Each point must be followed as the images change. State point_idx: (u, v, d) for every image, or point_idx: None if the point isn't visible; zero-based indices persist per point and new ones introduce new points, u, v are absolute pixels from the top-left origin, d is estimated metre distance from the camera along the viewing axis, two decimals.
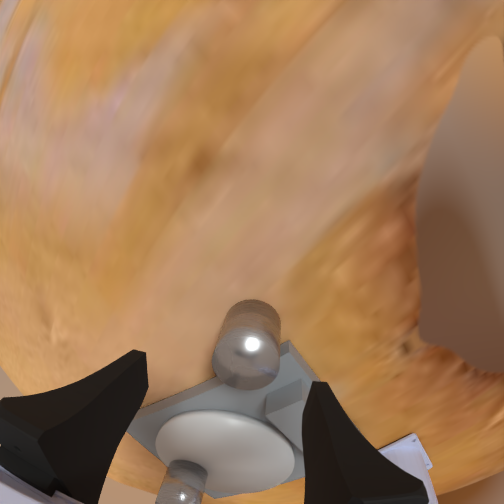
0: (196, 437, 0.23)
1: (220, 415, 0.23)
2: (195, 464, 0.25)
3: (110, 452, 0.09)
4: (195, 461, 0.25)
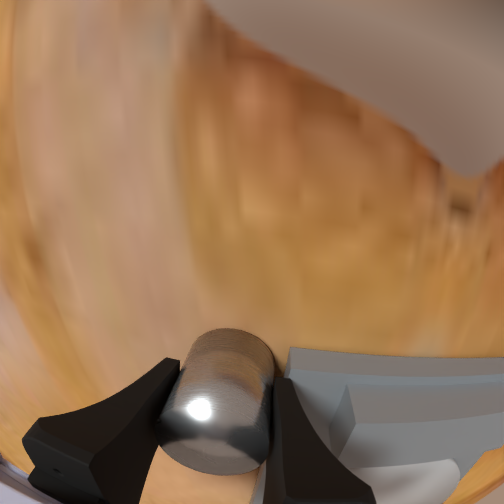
0: None
1: None
2: None
3: (147, 464, 0.09)
4: None
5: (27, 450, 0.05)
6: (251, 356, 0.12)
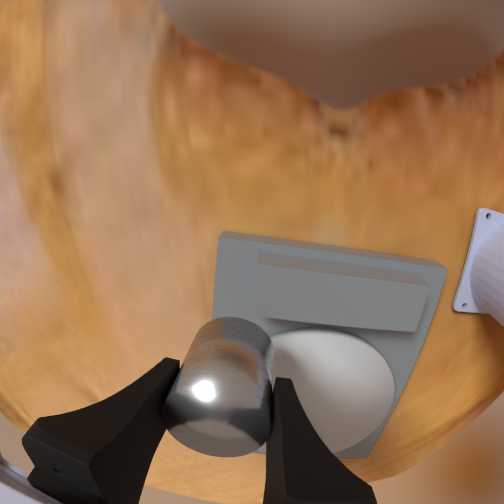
0: None
1: None
2: None
3: (146, 464, 0.09)
4: None
5: (27, 450, 0.05)
6: (251, 341, 0.13)
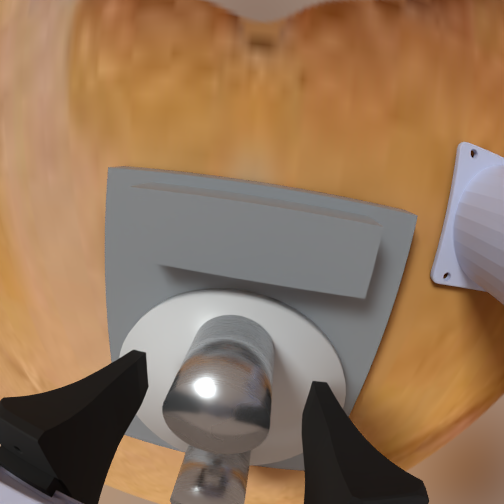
0: (157, 383, 0.16)
1: None
2: None
3: (110, 452, 0.09)
4: None
5: None
6: (248, 337, 0.13)
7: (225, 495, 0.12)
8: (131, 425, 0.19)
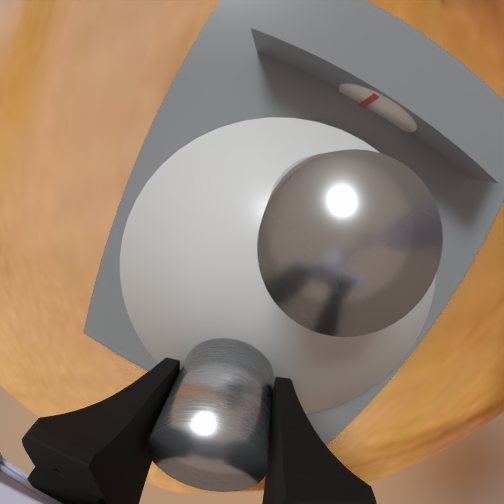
0: (184, 242, 0.12)
1: None
2: (227, 340, 0.13)
3: (147, 464, 0.09)
4: (224, 332, 0.13)
5: (27, 450, 0.05)
6: None
7: (255, 440, 0.08)
8: (101, 319, 0.14)
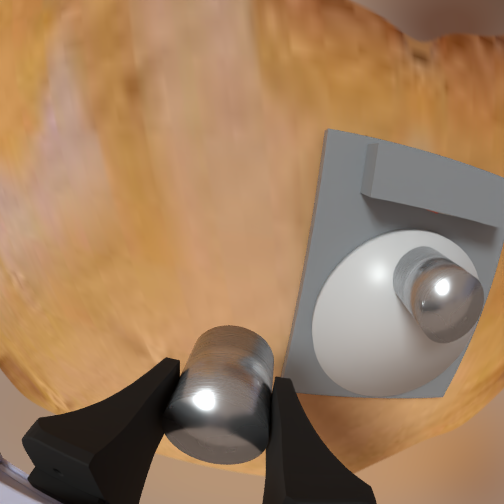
0: (352, 317, 0.20)
1: (345, 260, 0.19)
2: (226, 327, 0.14)
3: (147, 464, 0.09)
4: (380, 354, 0.20)
5: (27, 450, 0.05)
6: None
7: (253, 408, 0.10)
8: (294, 377, 0.22)
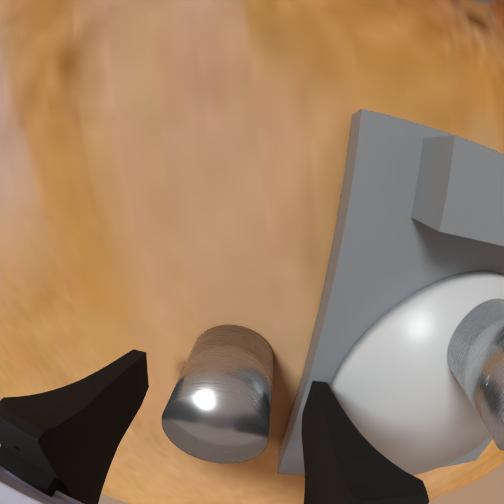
0: (384, 400, 0.12)
1: (383, 326, 0.11)
2: (226, 326, 0.14)
3: (110, 452, 0.09)
4: (414, 437, 0.12)
5: None
6: None
7: (253, 406, 0.10)
8: (297, 461, 0.15)
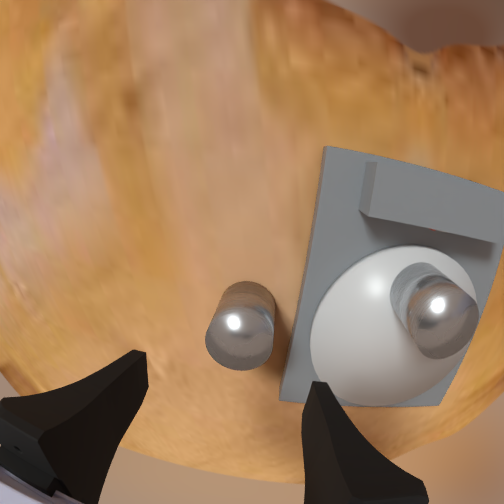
0: (349, 331, 0.20)
1: (343, 277, 0.19)
2: (244, 282, 0.22)
3: (110, 452, 0.09)
4: (377, 366, 0.20)
5: None
6: (442, 273, 0.17)
7: (263, 321, 0.18)
8: (293, 387, 0.23)
